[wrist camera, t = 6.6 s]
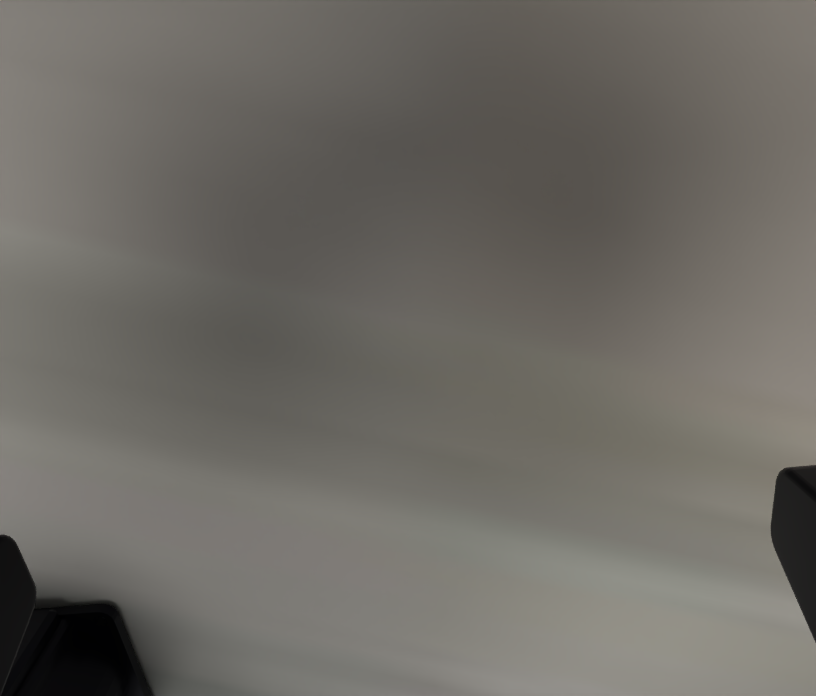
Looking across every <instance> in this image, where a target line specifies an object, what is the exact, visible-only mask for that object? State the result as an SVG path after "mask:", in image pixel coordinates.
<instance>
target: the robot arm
mask: <svg viewBox="0 0 816 696" xmlns="http://www.w3.org/2000/svg"><path fill="white" fill-rule="evenodd" d="M771 537H772V542H773V546H774V548H775V551H776V553H777V556H778V558H779V560H780V562H781V565H782V567H783V569H784V572H785V574H786V576H787V578H788V581H789V583H790V585H791V588H792V590H793V592H794V594H795V597H796V599H797V601H798V604H799V606H800V608H801V610H802V613H803V615H804V617H805V620H806V622H807V624H808V626H809V629H810V631H811V633H812V636H813V638H814V640H815V642H816V465H811V466H799V467H788V468H784V469H783V470H781V471H780V472H779V474H778V476H777V479H776V485H775V494H774V502H773V511H772V519H771ZM35 602H36V587H35V583H34V581H33V579H32V576H31V574H30V572H29V570H28V568H27V565H26V563H25V561H24V559H23V557H22V554H21V552H20V550H19V548H18V546H17V544H16V542H15V541H14V540H13V539H12V538H11V537H10V536H7V535H0V696H151V693H150V691H149V688H148V686H147V683H146V681H145V678H144V675H143V673H142V670H141V668H140V665H139V663H138V660H137V658H136V655H135V653H134V650H133V648H132V645H131V643H130V640H129V638H128V635H127V633H126V630H125V628H124V625H123V623H122V620H121V618H120V615H119V613H118V611H117V610H116V609H115V608H114V607H112V606H110V605H107V604H95V605H82V606H69V607H56V608H43V609H34V607H35ZM104 618H105V619H104Z"/></svg>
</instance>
